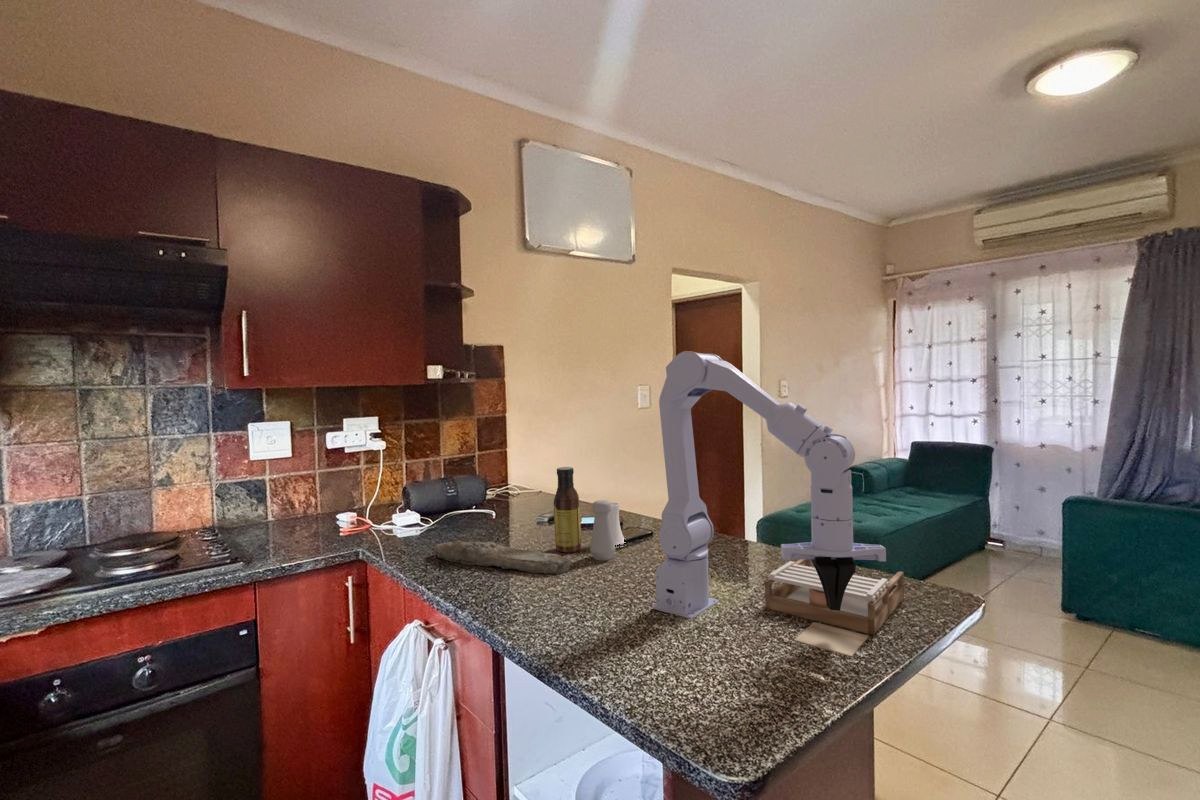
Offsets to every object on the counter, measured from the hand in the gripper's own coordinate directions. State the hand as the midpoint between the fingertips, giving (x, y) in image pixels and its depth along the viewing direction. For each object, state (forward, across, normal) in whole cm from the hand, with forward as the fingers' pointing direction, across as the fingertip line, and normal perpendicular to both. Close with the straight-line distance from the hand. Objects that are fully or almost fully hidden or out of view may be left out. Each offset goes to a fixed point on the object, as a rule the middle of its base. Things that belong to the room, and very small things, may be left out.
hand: (833, 607), depth 82 cm
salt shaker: (+5, +39, -39) cm, 55 cm away
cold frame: (+5, -4, -13) cm, 15 cm away
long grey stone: (+5, +62, -35) cm, 71 cm away
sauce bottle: (+5, +48, -45) cm, 66 cm away
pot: (+4, -1, -8) cm, 9 cm away
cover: (0, -2, -10) cm, 10 cm away
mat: (+5, +1, +1) cm, 5 cm away
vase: (+5, +38, -51) cm, 63 cm away
